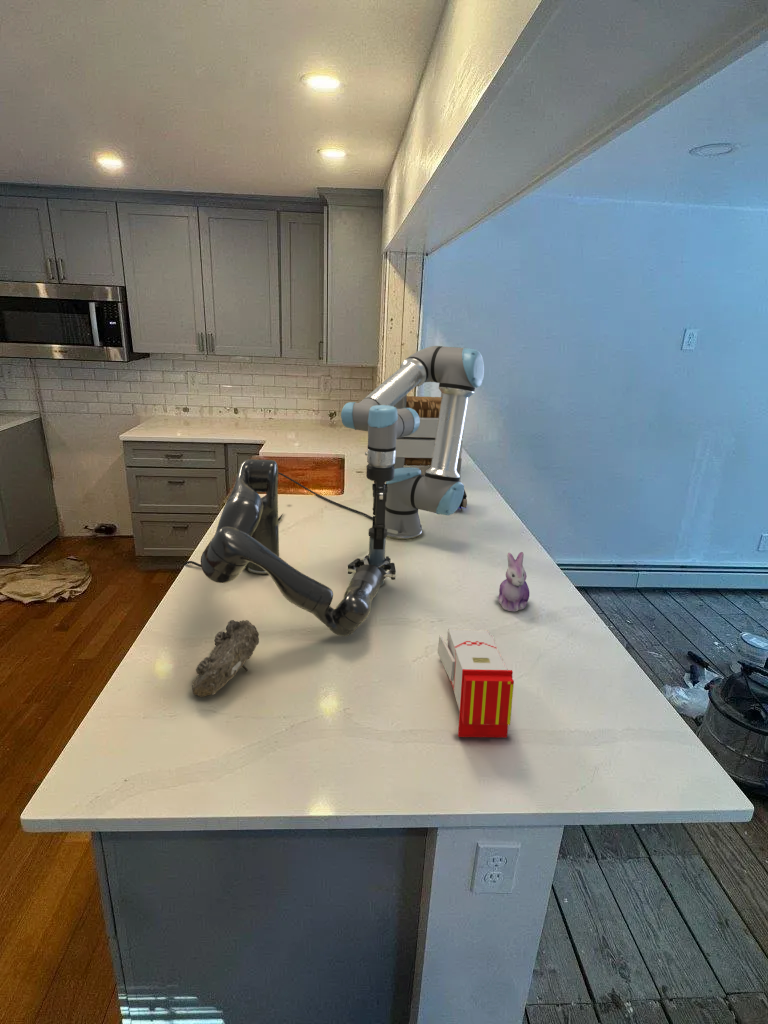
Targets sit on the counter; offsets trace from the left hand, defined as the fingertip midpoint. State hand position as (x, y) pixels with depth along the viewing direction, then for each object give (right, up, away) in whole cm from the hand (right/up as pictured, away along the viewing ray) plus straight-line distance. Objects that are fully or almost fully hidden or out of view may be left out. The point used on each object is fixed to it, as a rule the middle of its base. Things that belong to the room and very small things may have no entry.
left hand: (378, 558), depth 164 cm
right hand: (0, +5, -4) cm, 6 cm away
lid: (0, +8, -6) cm, 10 cm away
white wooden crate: (+19, +32, +111) cm, 117 cm away
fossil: (-32, -21, -42) cm, 56 cm away
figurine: (+37, -12, -9) cm, 40 cm away
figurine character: (+31, +15, +65) cm, 74 cm away
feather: (-37, +11, +46) cm, 60 cm away
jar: (-1, -7, 0) cm, 7 cm away
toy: (+19, -24, -45) cm, 55 cm away
